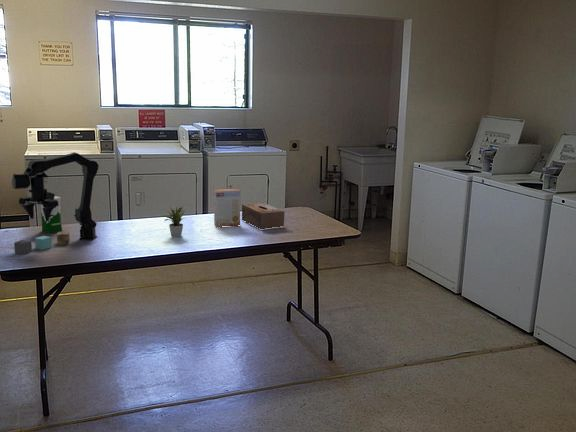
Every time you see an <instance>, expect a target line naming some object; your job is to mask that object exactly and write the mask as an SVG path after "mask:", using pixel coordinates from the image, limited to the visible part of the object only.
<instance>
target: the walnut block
mask: <svg viewBox="0 0 576 432" xmlns="http://www.w3.org/2000/svg"><path fill="white" fill-rule="evenodd" d="M70 242H71V241H70V231H58V232H56V243H57V245H69V244H70Z"/></svg>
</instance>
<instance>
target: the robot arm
mask: <svg viewBox="0 0 576 432" xmlns="http://www.w3.org/2000/svg"><path fill="white" fill-rule="evenodd" d="M70 163H76V164H78V165H79V166H81V171H82V175H83V181H82V187H81V188H82V189H81V196H80V203H79V204H80V205H79V206H78V208H75V210H74V211H75V213H74V215H73V216H74V217H75V221H76V222H77V223H79V226H80V229H79V240H85V241H86V240H87V241H88V240H89V241H92V240H94V239H96V238H98V235H97V234H96V227H97V222H96V221H94V220H93V219H92V211H91V202H92V193H93V185H94V179H95V177H96V176H97V173H98V170H99V164H98V162H97V161H95V160H93V159H88V158H87V157H85V156H83V155H81V154H80V153H77V152H71V153H67V154H63V155H60V156H56V157H52V158H51V157H50V158H45V159H43V158H42V159H41V158H40V159H32V160H30V161H28V163H27V167H26V169H25V170H24V172H23V173H13V174H12V178H11V186H12V188H13V190H20V189H21V190H22V189H28V188H29V187H30V189H28V193H31V194H30V195H31V196H30V195H29V196H22V197H20V198H19V199H18V204H19V205H21V207H23V209H24V211H26V213H27V214H28V216H29V218H30V219H31V220H34V215H35V214H34V213H35V212H34V211H35V210H34V207H35V205H36V204H37V205H41V204H42V205H43V206H44V208H43V212H44V215H45V219H46V221H49V218H50V215H51V212H52V210H53V209H54V208H56V206H58V201H57V200H54V196H56V194H55V193H53V192H51V193H49V192H50V191H49V192H48V190H47V188H45V178H49V175H47V174H46V173H45V172H46V171H48V170H50V169H51V168H55V167H59V166H62V165H66V164H70ZM49 199H50V200H49ZM45 200H46V201H45Z"/></svg>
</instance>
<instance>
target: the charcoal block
mask: <svg viewBox="0 0 576 432" xmlns="http://www.w3.org/2000/svg"><path fill="white" fill-rule="evenodd" d="M13 244H14V248H13V249H14V253H15V254H19V255H26V254H29V253H31V252H33V246H32V240H27V239H26V240H25V239H20V240H18V241H15V242H14V243H13Z"/></svg>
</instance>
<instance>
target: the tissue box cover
mask: <svg viewBox="0 0 576 432" xmlns="http://www.w3.org/2000/svg"><path fill="white" fill-rule="evenodd" d="M242 220H244V221H246V222H248V223H250V224H252V225H254V226H256V227H258V228H260V229H265V228H272V227H280V226H284V227H285V211H284V210H282V209H280V208H277V207H275V206H273V205H271V204H268V203H265V202H256V203H255V202H254V203H243V204H241V221H242ZM244 221H243V222H244ZM246 222H245V223H246ZM248 223H247V224H248ZM250 224H249V225H250ZM252 225H251V226H252ZM254 226H253V227H254Z"/></svg>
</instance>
